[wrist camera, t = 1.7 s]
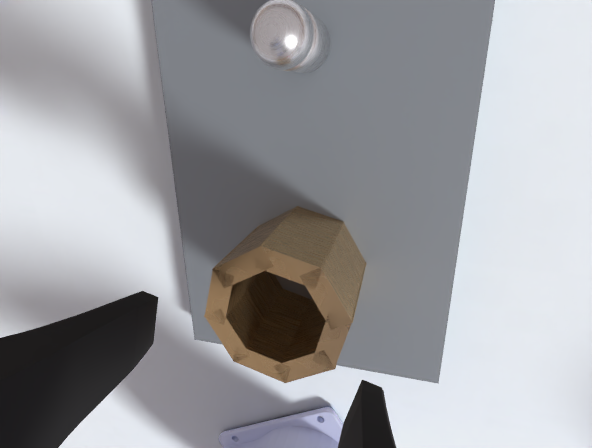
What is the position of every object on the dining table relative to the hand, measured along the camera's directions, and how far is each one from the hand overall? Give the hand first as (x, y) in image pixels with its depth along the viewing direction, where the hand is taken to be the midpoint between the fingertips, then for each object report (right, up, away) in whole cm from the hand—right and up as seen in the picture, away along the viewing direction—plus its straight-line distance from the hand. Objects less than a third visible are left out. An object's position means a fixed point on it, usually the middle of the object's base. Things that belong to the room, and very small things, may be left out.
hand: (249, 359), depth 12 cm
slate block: (+2, +7, +7) cm, 10 cm away
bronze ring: (+2, +2, +7) cm, 7 cm away
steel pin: (+2, +12, +3) cm, 12 cm away
